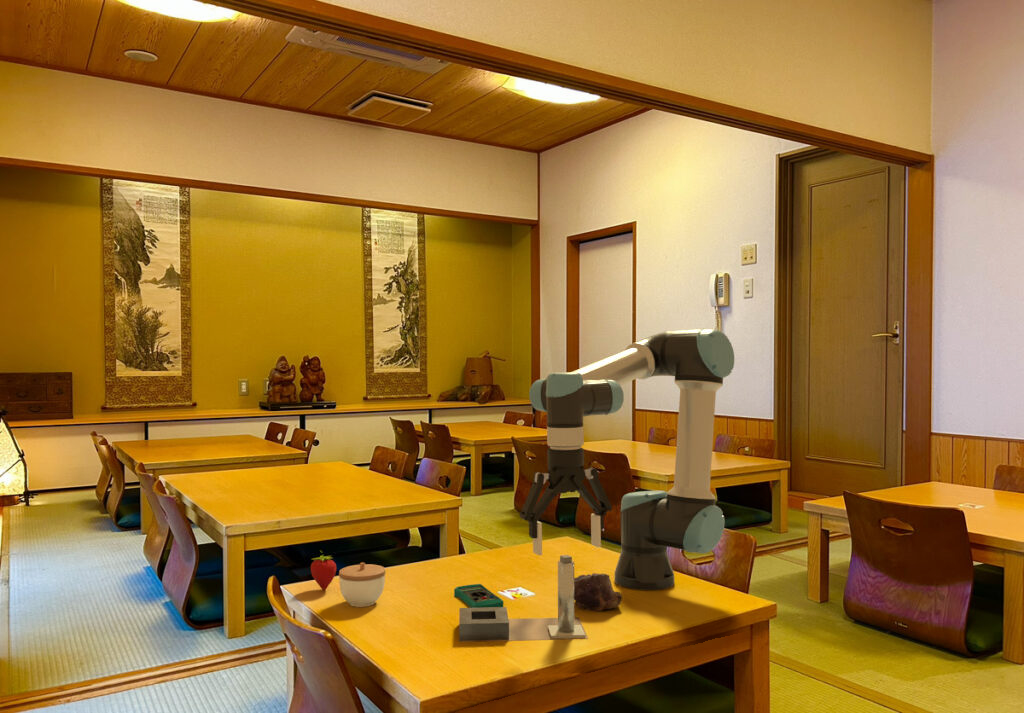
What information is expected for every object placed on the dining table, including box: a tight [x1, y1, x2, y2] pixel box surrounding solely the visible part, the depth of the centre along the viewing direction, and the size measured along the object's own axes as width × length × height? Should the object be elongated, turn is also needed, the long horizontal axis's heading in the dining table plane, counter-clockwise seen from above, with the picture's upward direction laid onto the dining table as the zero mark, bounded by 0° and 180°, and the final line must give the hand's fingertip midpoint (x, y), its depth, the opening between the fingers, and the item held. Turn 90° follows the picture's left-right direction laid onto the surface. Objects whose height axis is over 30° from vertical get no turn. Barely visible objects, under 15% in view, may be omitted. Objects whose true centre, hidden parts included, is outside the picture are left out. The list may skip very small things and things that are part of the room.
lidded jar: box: [338, 562, 386, 608], centre depth 181 cm, size 11×11×9 cm
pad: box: [548, 625, 585, 639], centre depth 158 cm, size 7×6×1 cm
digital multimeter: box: [453, 583, 504, 608], centre depth 180 cm, size 7×15×3 cm, turn 23°
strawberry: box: [310, 550, 337, 591], centre depth 191 cm, size 6×8×10 cm
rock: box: [574, 572, 623, 612], centre depth 175 cm, size 12×9×10 cm
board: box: [458, 616, 589, 643], centre depth 161 cm, size 26×13×1 cm, turn 93°
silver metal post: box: [557, 554, 575, 633], centre depth 158 cm, size 3×3×15 cm
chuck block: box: [458, 606, 509, 641], centre depth 159 cm, size 10×10×3 cm
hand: (567, 549), depth 159 cm, fingers open, 13 cm apart
